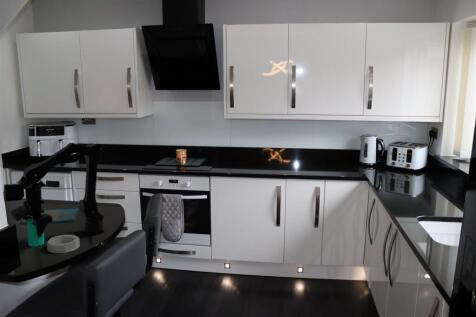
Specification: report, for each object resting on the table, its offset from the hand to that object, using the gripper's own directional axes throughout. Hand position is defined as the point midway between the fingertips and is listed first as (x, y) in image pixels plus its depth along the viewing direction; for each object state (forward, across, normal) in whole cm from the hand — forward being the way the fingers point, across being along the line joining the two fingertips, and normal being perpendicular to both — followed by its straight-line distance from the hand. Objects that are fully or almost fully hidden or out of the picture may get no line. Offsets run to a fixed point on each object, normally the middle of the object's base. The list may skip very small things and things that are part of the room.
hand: (35, 235), depth 161 cm
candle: (+4, 0, 0) cm, 4 cm away
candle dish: (+4, +11, +6) cm, 13 cm away
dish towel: (+4, -27, +19) cm, 33 cm away
